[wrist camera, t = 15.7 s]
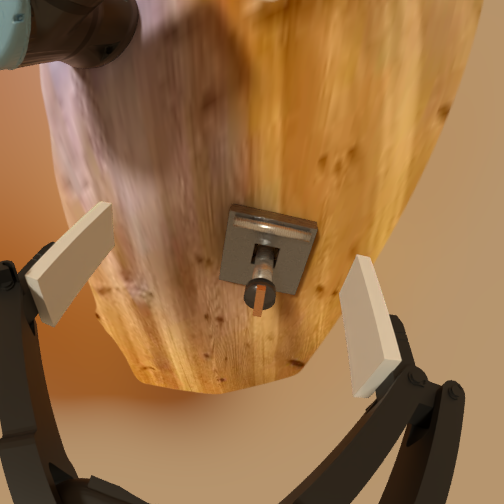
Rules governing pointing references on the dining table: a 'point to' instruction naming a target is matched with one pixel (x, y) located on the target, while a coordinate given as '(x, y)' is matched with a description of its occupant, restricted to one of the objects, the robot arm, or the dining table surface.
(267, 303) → the key
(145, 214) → the dining table surface
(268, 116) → the dining table surface
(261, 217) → the grey flat square block
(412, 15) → the dining table surface
